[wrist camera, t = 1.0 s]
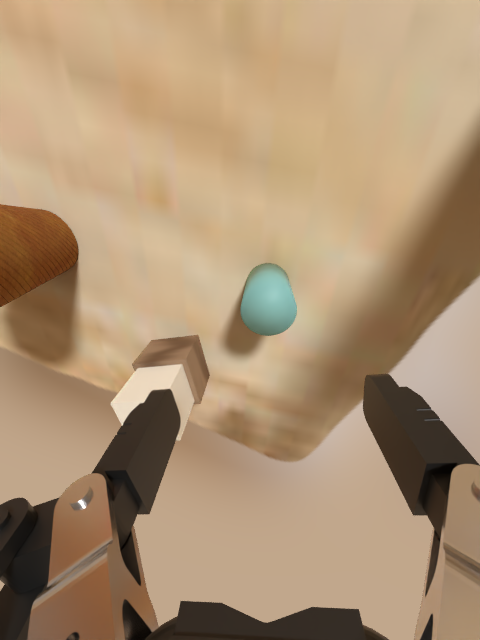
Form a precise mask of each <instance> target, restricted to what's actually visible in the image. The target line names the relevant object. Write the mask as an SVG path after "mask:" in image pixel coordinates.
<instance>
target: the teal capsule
mask: <svg viewBox="0 0 480 640" xmlns="http://www.w3.org/2000/svg"><path fill="white" fill-rule="evenodd" d="M296 313H297V307H296V302H295V299H294V296H293V292H292V289H291V286H290V283H289V279H288V276H287V274H286V272H285V271H284V270H283V269H282V268H281V267H279V266H278V265H275V264H271V263H265V264H261V265H258V266H257V267H255V268H254V269H253V270H252V271H251V272H250V274H249V275H248V278H247V282H246V286H245V290H244V295H243V299H242V303H241V317H242V320H243V322H244V323H245V325H246V326H247V327H248V328H249V329H250V330H252V331H253V332H255V333H257V334H260V335H266V336H271V335H276V334H279V333H282V332H284V331H285V330H287V329H288V328H289V327H290V326H291V325H292V323H293V322H294V320H295V317H296Z"/></svg>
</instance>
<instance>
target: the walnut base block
mask: <svg viewBox="0 0 480 640" xmlns="http://www.w3.org/2000/svg"><path fill="white" fill-rule="evenodd" d="M178 364H182V365H183V368H184V371H185V374H186V377H187V380H188V383H189V386H190V389H191V392H192V395H193V398H194V404H201V400H202V397H203V394H204V391H205V388H206V385H207V382H208V379H209V376H210V375H209V371H208V368H207V364H206V361H205V357H204V354H203V350H202V347H201V343H200V340H199V336H198V335H194V336H185V337H177V338H168V339H159V340H152V341H151V342H150V343H149V344H148V345H147V347H146V348H145V349H144V350H143V352H142V353H141V354H140V355H139V356H138V358H137V359H136V360H135V361H134V363H133V364H132V365H133V368H134V370H135V371H136V370H137V368H145V367H156V366H167V365H178Z"/></svg>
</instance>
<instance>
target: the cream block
mask: <svg viewBox="0 0 480 640" xmlns="http://www.w3.org/2000/svg"><path fill="white" fill-rule="evenodd" d="M160 389H171V391H172V393H173V395H174V398H175V401H176V404H177V407H178V410H179V413H180V418H181V424H180V430H179V433H178V435H177V438H176V441H180V440H181V437H182V435H183V432H184V429H185V426H186V423H187V421H188V418H189V415H190V412H191V409H192V406H193V404H194V398H193V395H192V392H191V389H190V386H189V383H188V380H187V377H186V374H185V371H184V368H183V365H182V364H178V365H167V366H156V367H145V368H137V370H136V371H135V372H134V373H133V375H132V376H131V377H130V379H129V380H128V381H127V383H126V384H125V385H124V387H123V388H122V389H121V390H120V392H119V393H118V394H117V396H116V397H115V398H114V400H113V401H112V402H111V406H112V407H113V409H114V411H115V413H116V415H117V417H118V419H119V421H120V422H121V424H122V426H123V423H124V421H125V420H126V418H127V416H128V415H129V413H130V412H131V411H132V410H133V409H134V408H135V407H137V406H138V405H139V404H140V403H144V402H145V400H146V398H147V397H148V395H149V393H150V392H151V391H152V390H160Z"/></svg>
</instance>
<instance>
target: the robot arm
mask: <svg viewBox="0 0 480 640" xmlns="http://www.w3.org/2000/svg"><path fill="white" fill-rule="evenodd" d="M363 411H364V415H365V418H366V421H367V423H368V425H369V427H370V429H371V431H372V433H373V435H374V437H375V439H376V441H377V443H378V445H379V447H380V449H381V451H382V453H383V455H384V457H385V459H386V461H387V463H388V465H389V467H390V469H391V471H392V473H393V475H394V477H395V480H396V481H397V483H398V486H399V487H400V490H401V491H402V494H403V496H404V497H405V500H406V502H407V503H408V506H409V508H410V510H411V512H412V514H413V515H427V516H428V518H429V520H430V521H431V523H432V525H433V527H434V528H433V532H432V538H431V544H430V551H429V557H428V564H427V571H426V577H425V584H424V590H423V597H422V603H421V607H420V612H419V616H418V620H417V625H416V630H415V636H414V640H480V465H479V464H478V463H477V462H476V460H475V459H474V458H473V457H472V456H471V454H470V453H469V452H468V451H467V450H466V449H465V447H464V446H463V445H462V444H461V443H460V442H459V440H458V439H457V438H456V437H455V436H454V434H453V433H452V432H451V431H450V430H449V429H448V427H447V426H446V425H445V424H444V423H443V422H442V421H440V418H439V417H438V416H437V414H436V413H435V412H434V411H432V410H431V407H429V405H428V404H427V403H426V402H425V400H424V399H423V398H422V397H421V396H420V395H418V394H417V393H415V392H414V391H412V390H411V389H409V388H408V387H399V386H398V385H397V384H396V382H395V381H394V380H393V378H392V377H391V376H390V375H389V374H379V375H367V376H366V378H365V386H364V399H363ZM180 424H181V418H180V413H179V410H178V407H177V404H176V401H175V398H174V395H173V393H172V391H171V389H160V390H152V391H151V392H150V393H149V395H148V397H147V398H146V400H145V402H144V403H140V404H139V405H138V406H137V407H135V408H134V409H133V410H132V411H131V412H130V413H129V415H128V416H127V418H126V420H125V421H124V423H123V426H121V428H120V429H119V431H118V432H117V435H116V436H115V437H114V439H113V440H112V442H111V443H110V445H109V447H108V448H107V450H106V451H105V453H104V455H103V456H102V458H101V459H100V461H99V463H98V464H97V466H96V467H95V469H94V471H93V472H92V473H91V474H88V475H86V476H84V477H82V478H80V479H78V480H77V481H75V482H74V483H72V484H71V485H70V486H69V487H68V488H67V489H66V490H65V491H64V492H63V494H62V495H61V496H60V497H59V498H57V499H54V500H51V501H48V502H46V503H42V504H39V505H36V506H34V507H32V506H31V505H30V503H29V502H28V501H27V500H26V499H24V498H15V499H12V500H9V501H7V502H5V503H3V504H1V505H0V580H1V581H2V582H3V583H4V584H5V585H4V586H3V588H2V590H1V591H0V640H388V639H387V638H386V637H384V636H383V635H381V634H379V633H378V632H376V631H375V630H373V629H371V628H369V627H367V626H364V625H362V621H361V617H360V613H359V609H340V608H319V607H311V608H308V609H306V610H303V611H300V612H298V613H294V614H292V615H289V616H286V617H283V618H281V619H278V620H276V621H272V622H269V623H264V622H261V621H259V620H257V619H255V618H252V617H250V616H248V615H246V614H244V613H242V612H240V611H238V610H235V609H233V608H231V607H229V606H227V605H225V604H223V603H212V602H190V601H181V603H180V608H179V613H178V617H175V618H173V619H171V620H170V621H168V622H166V623H164V624H163V625H161V626H160V627H159V626H158V622H157V618H156V615H155V611H154V609H153V605H152V603H151V600H150V598H149V595H148V592H147V588H146V583H145V578H144V573H143V568H142V564H141V558H140V553H139V548H138V543H137V538H136V533H135V529H134V526H133V524H134V521H135V519H136V516H137V514H150V511H151V508H152V505H153V503H154V500H155V497H156V494H157V491H158V488H159V486H160V483H161V480H162V477H163V475H164V472H165V469H166V466H167V463H168V460H169V458H170V455H171V452H172V449H173V446H174V444H175V441H176V438H177V435H178V433H179V430H180Z"/></svg>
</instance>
